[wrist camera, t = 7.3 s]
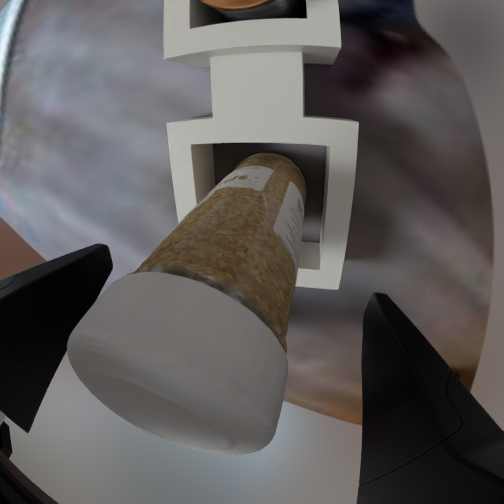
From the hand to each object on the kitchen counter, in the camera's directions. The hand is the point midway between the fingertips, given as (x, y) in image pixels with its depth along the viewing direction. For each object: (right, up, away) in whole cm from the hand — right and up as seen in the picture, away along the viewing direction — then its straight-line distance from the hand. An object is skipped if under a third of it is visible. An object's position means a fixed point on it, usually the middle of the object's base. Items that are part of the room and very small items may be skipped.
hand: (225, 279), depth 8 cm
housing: (+2, +9, +5) cm, 10 cm away
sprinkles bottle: (+2, +4, +7) cm, 9 cm away
